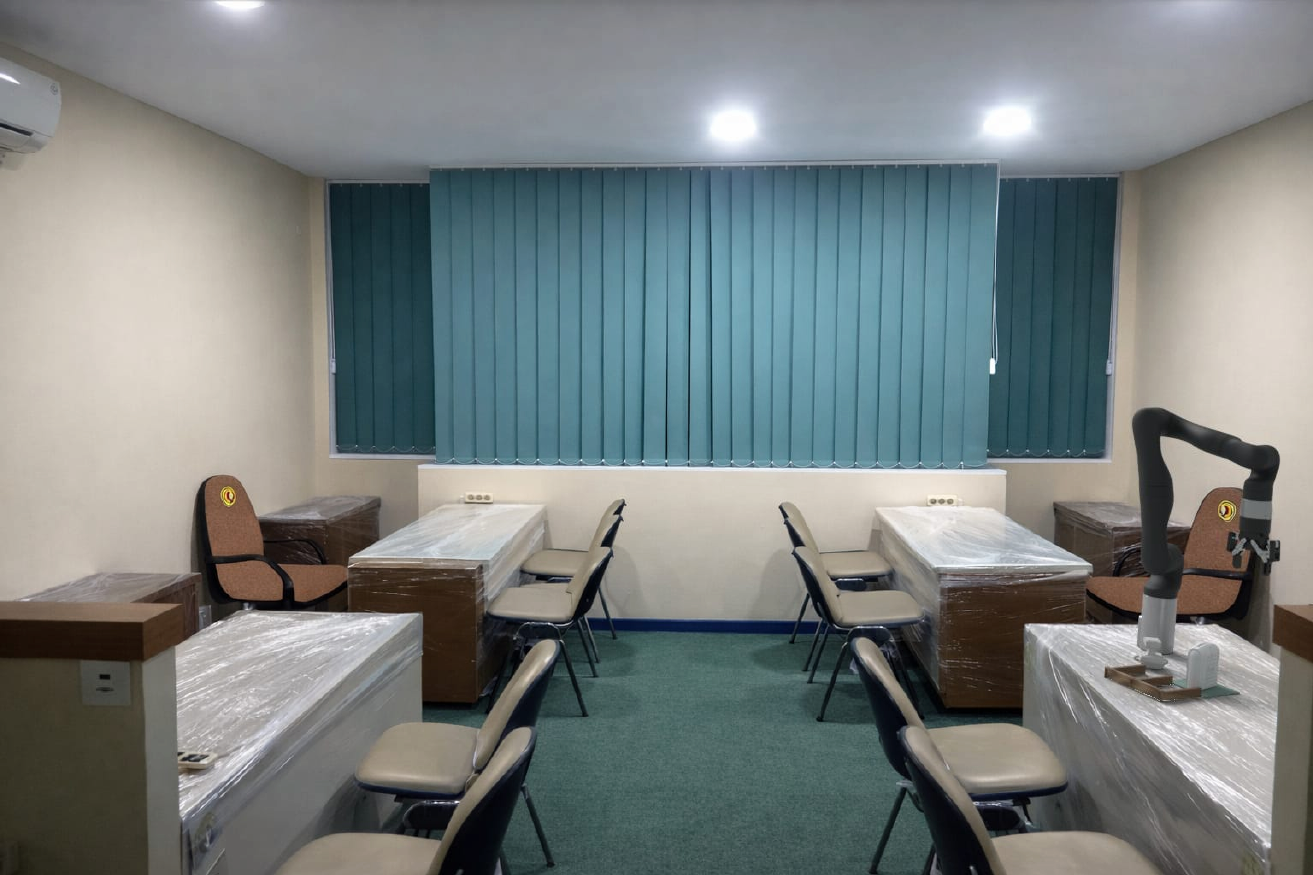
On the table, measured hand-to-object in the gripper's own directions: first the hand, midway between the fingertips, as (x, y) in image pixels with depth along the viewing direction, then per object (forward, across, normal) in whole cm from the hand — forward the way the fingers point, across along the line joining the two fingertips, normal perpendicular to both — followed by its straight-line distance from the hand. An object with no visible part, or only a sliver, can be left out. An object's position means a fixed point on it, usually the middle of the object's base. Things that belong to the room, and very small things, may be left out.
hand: (1251, 571), depth 252 cm
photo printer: (+30, +5, -21) cm, 37 cm away
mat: (+30, +5, -20) cm, 37 cm away
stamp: (+30, -12, -21) cm, 39 cm away
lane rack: (+30, 0, -34) cm, 45 cm away
